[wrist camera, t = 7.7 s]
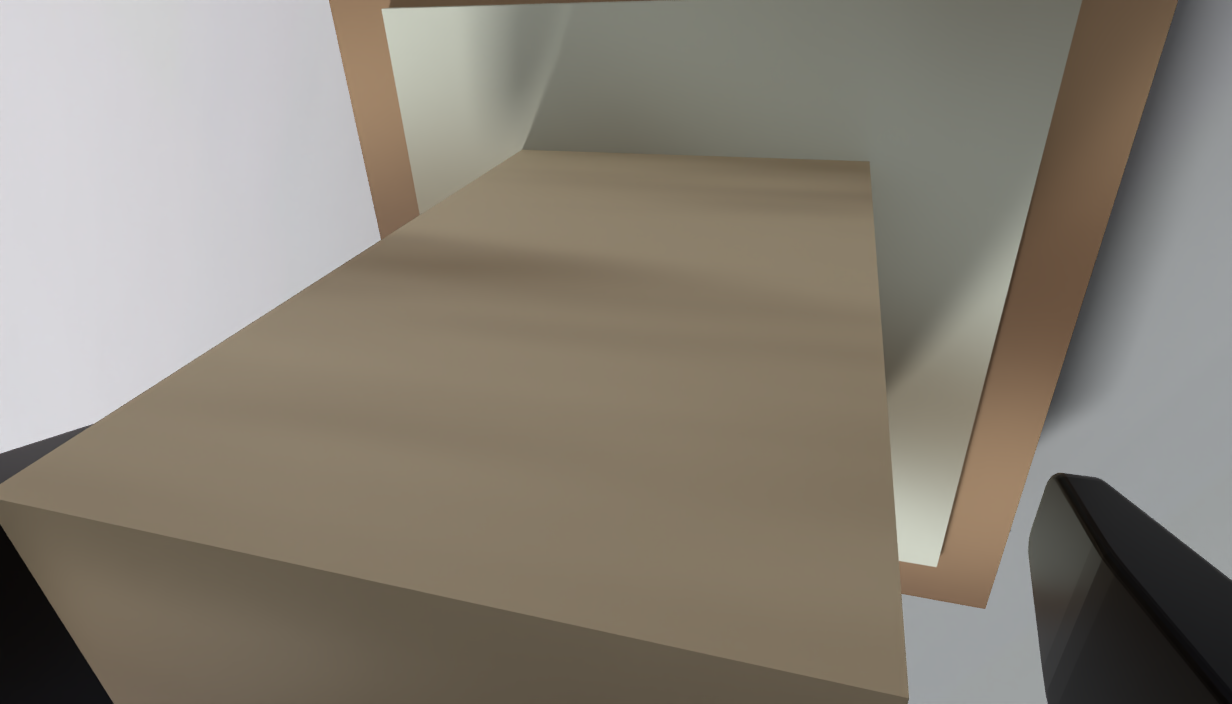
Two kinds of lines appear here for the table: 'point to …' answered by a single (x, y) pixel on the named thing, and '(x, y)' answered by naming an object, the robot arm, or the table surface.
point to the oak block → (513, 462)
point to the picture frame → (823, 130)
